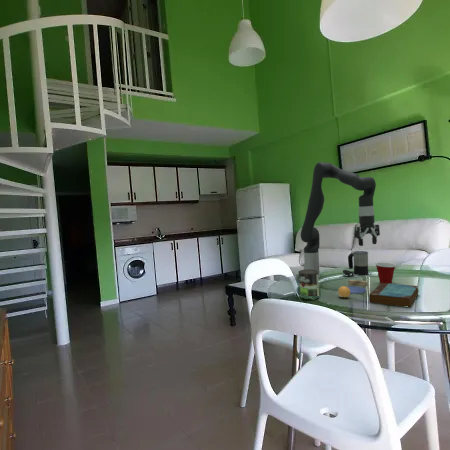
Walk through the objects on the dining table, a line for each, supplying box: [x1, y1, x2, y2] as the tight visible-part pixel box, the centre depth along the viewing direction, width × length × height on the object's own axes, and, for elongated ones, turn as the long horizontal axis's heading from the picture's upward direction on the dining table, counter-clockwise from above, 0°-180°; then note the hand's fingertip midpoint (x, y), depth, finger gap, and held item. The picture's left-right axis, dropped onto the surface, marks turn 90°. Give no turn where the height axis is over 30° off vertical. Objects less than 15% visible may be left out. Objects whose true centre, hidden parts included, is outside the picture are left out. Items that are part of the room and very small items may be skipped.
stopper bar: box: [347, 279, 368, 287], centre depth 189 cm, size 10×2×2 cm, turn 53°
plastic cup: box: [375, 262, 397, 285], centre depth 186 cm, size 11×11×12 cm
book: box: [368, 283, 419, 308], centre depth 162 cm, size 23×18×5 cm
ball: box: [337, 285, 351, 298], centre depth 168 cm, size 6×6×6 cm
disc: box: [346, 285, 367, 295], centre depth 181 cm, size 14×14×1 cm
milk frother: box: [342, 250, 370, 277], centre depth 212 cm, size 14×16×15 cm
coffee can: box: [298, 269, 320, 297], centre depth 173 cm, size 10×10×14 cm
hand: (367, 244), depth 174 cm, fingers open, 8 cm apart
